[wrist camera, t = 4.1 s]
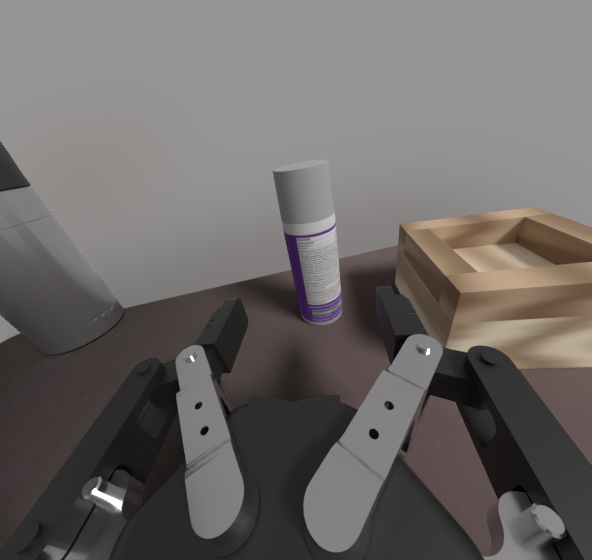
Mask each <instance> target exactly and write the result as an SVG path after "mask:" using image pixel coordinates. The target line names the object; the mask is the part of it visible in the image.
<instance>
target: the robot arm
mask: <svg viewBox="0 0 592 560" xmlns="http://www.w3.org/2000/svg"><path fill="white" fill-rule="evenodd" d="M375 311H376V318H377V321H378V325H379V328H380V331H381V335H382V338H383V341H384V344H385V348H386V351H387V354H388V357H389V361H390V364H391V366H390V368H389V369H388V370H387V369H384V370H383V371H382V373H381V374H380V376H379V378H378V379H377V381H376V382H375V384H374V386H373V387H372V389H371V390H370V392H369V394H368V395H367V397H366V399H365V400H364V402H363V403H362V405H361V407H360V408H359V410H356V409H354V408H353V407H351V406H348V405H346V404H343V403H340V398H339V395H338V396H313V397H309V398H306V399H302V400H298V401H294V402H291V401H287V400H284V399H280V398H276V397H273V396H250V399H249V403H248V404H246V405H244V406H241V407H239V408H237V409H236V410H234V411H233V408H232V406H231V404H230V401H229V398H228V396H227V393H226V390H225V388H224V385H223V382H222V380H221V375H222V373H230V372H231V370H232V367H233V364H234V362H235V359H236V356H237V353H238V351H239V348H240V345H241V343H242V340H243V337H244V335H245V332H246V329H247V326H248V318H247V315H246V312H245V309H244V307H243V304H242V302H241V300H240V299H239V298H236V299H227V300H226V301H225V303H224V304H223V306H222V308H219V309H218V310H217V311H215V312H214V313H213V314H212V316H211V318H210V319H209V322H208V323H207V325H206V327H205V328H204V330H203V331H202V333H201V335H200V336H199V338H198V340H197V342H196V343H195V345H194V346H190V347H188V348H186V349H185V350H183V351H182V352H181V353H180V354H179V355H178V357H177V359H175V360H172V361H169V362H166V363H163V364H162V363H161V362H160V361H159V359H157V358H150V359H147V360H145V361H143V362H141V363H140V364H138V365H137V366H136V367H135V368H134V369H133V370H132V372H131V373H130V374H129V376H128V377H127V378H126V380H125V381H124V383H123V384H122V385H121V387H120V388H119V389H118V391H117V392H116V394H115V395H114V396H113V398H112V399H111V400H110V402H109V403H108V405H107V406H106V407H105V409H104V410H103V411H102V413H101V414H100V416H99V417H98V418H97V420H96V421H95V422H94V424H93V425H92V426H91V428H90V429H89V431H88V432H87V433H86V435H85V436H84V437H83V439H82V440H81V442H80V443H79V444H78V446H77V447H76V448H75V450H74V451H73V453H72V454H71V455H70V457H69V458H68V459H67V461H66V462H65V464H64V465H63V466H62V468H61V469H60V470H59V472H58V473H57V475H56V476H55V477H54V479H53V480H52V481H51V483H50V484H49V485H48V487H47V488H46V490H45V491H44V492H43V494H42V495H41V496H40V498H39V499H38V501H37V502H36V503H35V505H34V506H33V507H32V509H31V510H30V512H29V513H28V514H27V516H26V517H25V518H24V520H23V521H22V523H21V524H20V525H19V527H18V528H17V529H16V531H15V532H14V533H13V535H12V536H11V538H10V539H9V540H8V542H7V543H6V545H5V547H4V548H3V550H2V552H1V554H0V560H592V466H591V464H590V463H589V462H588V460H587V459H586V458H585V456H584V455H583V454H582V452H581V451H580V450H579V448H578V447H577V446H576V444H575V443H574V442H573V441H572V439H571V438H570V437H569V435H568V434H567V433H566V431H565V430H564V429H563V427H562V426H561V425H560V423H559V422H558V421H557V419H556V418H555V417H554V415H553V414H552V413H551V412H550V410H549V409H548V408H547V406H546V405H545V404H544V402H543V401H542V400H541V398H540V397H539V396H538V394H537V393H536V392H535V390H534V389H533V388H532V387H531V385H530V384H529V383H528V381H527V380H526V379H525V377H524V376H523V375H522V373H521V372H520V371H519V369H518V368H517V367H516V365H515V364H514V363H513V362H512V360H511V359H510V358H509V357H508V356H507V355H506V354H504V353H503V352H501V351H499V350H497V349H495V348H492V347H489V346H482V345H479V346H473V347H471V348H470V349H469V350H468V352H463V351H458V350H453V349H448V348H445V347H443V346H441V344H440V343H439V342H438V341H437V340H435V339H434V338H432V337H430V336H429V335H428V333H427V331H426V330H425V328H424V326H423V324H422V322H421V320H420V318H419V317H418V315H417V314H416V311H415V309H414V308H413V305H412V304H411V302H410V300H409V299H408V298H406V297H405V296H404V295H403V294H397V295H395V293H394V291H393V289H392V287H391V286H382V287H376V303H375ZM123 313H124V308H123V307H122V306H121V304H120V303H119V302H118V300H117V299H116V298H115V297H114V295H113V294H112V292H111V291H110V290H109V288H108V287H107V285H106V284H105V283H104V281H103V280H102V279H101V277H100V276H99V275H98V274H97V272H96V271H95V269H94V268H93V267H92V265H91V264H90V263H89V261H88V260H87V259H86V257H85V256H84V255H83V253H82V252H81V251H80V249H79V248H78V247H77V245H76V244H75V243H74V241H73V240H72V239H71V238H70V236H69V235H68V233H67V232H66V231H65V229H64V228H63V227H62V225H61V224H60V223H59V221H58V220H57V219H56V218H55V216H54V215H53V214H52V212H51V211H50V210H49V208H48V207H47V206H46V204H45V203H44V202H43V200H42V199H41V198H40V196H39V195H38V194H37V192H36V191H35V190H34V188H33V187H32V186H30V183H29V182H28V181H27V179H26V178H25V177H24V176H23V174H22V173H21V171H20V170H19V168H18V167H17V165H16V164H15V162H14V161H13V159H12V158H11V156H10V155H9V153H8V152H7V150H6V149H5V147H4V146H3V145H2V143H1V142H0V315H1V316H2V317H3V318H4V319H5V320H7V321H8V322H9V323H10V324H11V325H12V326H14V327H15V328H16V329H17V330H18V331H19V332H20V333H21V334H23V335H24V336H25V337H26V338H27V339H28V340H30V341H31V342H32V343H33V344H34V345H35V346H37V347H38V348H39V349H40V350H41V351H42V352H44V353H45V354H48V355H56V354H61V353H65V352H68V351H71V350H74V349H76V348H79V347H81V346H83V345H85V344H87V343H89V342H91V341H93V340H94V339H96V338H98V337H99V336H101V335H102V334H104V333H105V332H107V331H108V330H109V329H111V328H112V327H113V326H114V325H115V324H116V323H117V322H118V321H119V320H120V319H121V317H122V316H123ZM431 395H433V396H437V397H440V398H444V399H447V400H451V401H455V402H456V404H457V407H458V409H459V411H460V413H461V416H462V418H463V420H464V423H465V425H466V427H467V429H468V432H469V434H470V436H471V439H472V441H473V443H474V445H475V448H476V450H477V452H478V455H479V457H480V459H481V461H482V464H483V466H484V468H485V471H486V473H487V475H488V477H489V480H490V482H491V484H492V487H493V489H494V491H495V493H496V496H497V498H498V500H497V501H496V502H495V503H494V504H493V505H492V506H491V507H490V509H489V511H488V514H487V522H488V527H489V531H490V535H491V540H492V549H491V553H490V555H489V557H484V556H482V554H481V553H480V551H479V549H478V548H477V546H476V545H475V544H474V542H473V541H472V539H471V538H470V537H469V535H468V534H467V533H466V532H465V530H464V529H463V528H462V527H461V526H460V525H459V523H458V522H457V521H456V520H455V519H454V518H453V517H452V515H451V514H450V513H449V512H448V511H447V510H446V509H445V507H444V506H443V505H442V504H441V503H440V502H439V500H438V499H437V498H436V497H435V496H434V495H433V494H432V492H431V491H430V490H429V489H428V488H427V487H426V485H425V484H424V483H423V482H422V481H421V480H420V479H419V477H418V476H417V475H416V474H415V473H414V472H413V470H412V469H411V468H410V467H409V466H408V465H407V464H406V462H405V459H406V457H407V454H408V452H409V449H410V447H411V444H412V442H413V439H414V436H415V433H416V430H417V427H418V425H419V422H420V420H421V418H422V415H423V413H424V410H425V408H426V406H427V403H428V401H429V398H430V396H431ZM148 399H149V400H150V402H151V404H150V406H149V407H148V409H147V411H146V413H145V414H144V416H143V418H142V420H141V421H140V423H139V424H138V418H139V415H140V413H141V411H142V410H143V408H144V406H145V405H146V403H147V401H148ZM177 411H178V412H179V419H180V425H181V432H182V439H183V445H184V452H185V460H184V461H183V462H182V463H181V464H180V465H179V466H178V467H177V468H176V469H175V470H174V471H173V472H172V473H171V474H170V475H169V476H168V477H167V478H166V479H165V480H164V481H163V482H162V483H161V485H160V486H159V487H158V488H157V489H156V490H155V491H154V492H153V493H152V494H151V495H150V496H149V497H148V498H147V499H146V500H145V501H144V502H143V501H142V500H143V497H144V491H145V490H144V483H145V480H146V478H147V476H148V474H149V472H150V470H151V467H152V465H153V463H154V461H155V459H156V456H157V454H158V452H159V450H160V448H161V445H162V443H163V441H164V439H165V437H166V435H167V432H168V430H169V428H170V426H171V424H172V421H173V419H174V417H175V415H176V413H177Z"/></svg>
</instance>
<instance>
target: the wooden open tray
mask: <svg viewBox="0 0 592 560" xmlns="http://www.w3.org/2000/svg"><path fill="white" fill-rule="evenodd" d="M395 285H396V287H397V288H398V290H399V292H400V294H403V295H404V296H405V297H406V298H408V299H409V300H410V302H411V304H412V305H413V308H414V309H415V311H416V314H417V315H418V317H419V318H420V320H421V322H422V324H423V326H424V328H425V330H426V331H427V333H428V335H429V336H430V337H432V338H434V339H435V340H437V341H438V342H439V343H440V344H441V346H443V347H445V348H448V349H453V350H458V351H463V352H468V350H469V349H470V348H471V347H473V346H479V345H482V346H489V347H492V348H495V349H497V350H499V351H501V352H503V353H504V354H506V355H507V356H508V357H509V358H510V359H511V360H512V362H513V363H514V364H515V365H516V367H517V368H518V369H537V368H574V367H592V227H589V226H586V225H583V224H580V223H578V222H575V221H572V220H569V219H566V218H563V217H560V216H557V215H554V214H551V213H548V212H546V211H543V210H539V209H537V208H534V207H531V208H523V209H516V210H508V211H501V212H492V213H485V214H477V215H469V216H461V217H454V218H445V219H438V220H430V221H422V222H415V223H407V224H400V229H399V241H398V254H397V266H396V279H395Z"/></svg>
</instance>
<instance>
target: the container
mask: <svg viewBox="0 0 592 560" xmlns="http://www.w3.org/2000/svg"><path fill="white" fill-rule="evenodd" d="M273 175H274V180H275V186H276V191H277V197H278V202H279V208H280V213H281V219H282V224H283V231H284V235H285V240H286V245H287V250H288V254H289V259H290V263H291V269H292V273H293V278H294V283H295V288H296V293H297V297H298V302H299V307H300V312H301V316H302V318H303V319H304V320H305V321H306V322H307V323H309V324H312V325H320V326H321V325H327V324H331V323H333V322H335V321H336V320H337V319H338V318H339V317H340V316H341V314H342V299H341V286H340V273H339V260H338V247H337V234H336V221H335V212H334V203H333V193H332V184H331V174H330V165H329V160H328V159H320V160H312V161H306V162H300V163H295V164H290V165H286V166H283V167H279V168H276V169H274V170H273Z"/></svg>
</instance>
